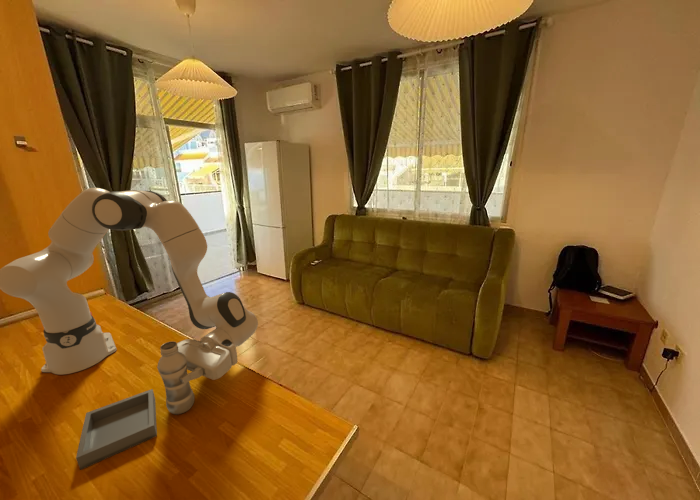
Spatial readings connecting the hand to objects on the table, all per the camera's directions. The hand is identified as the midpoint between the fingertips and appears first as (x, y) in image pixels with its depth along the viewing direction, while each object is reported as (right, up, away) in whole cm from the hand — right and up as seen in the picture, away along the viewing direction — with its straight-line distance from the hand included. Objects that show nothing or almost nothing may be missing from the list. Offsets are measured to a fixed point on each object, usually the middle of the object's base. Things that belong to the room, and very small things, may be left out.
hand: (171, 376), depth 73 cm
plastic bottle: (0, -10, +4) cm, 11 cm away
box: (-11, -12, -2) cm, 16 cm away
